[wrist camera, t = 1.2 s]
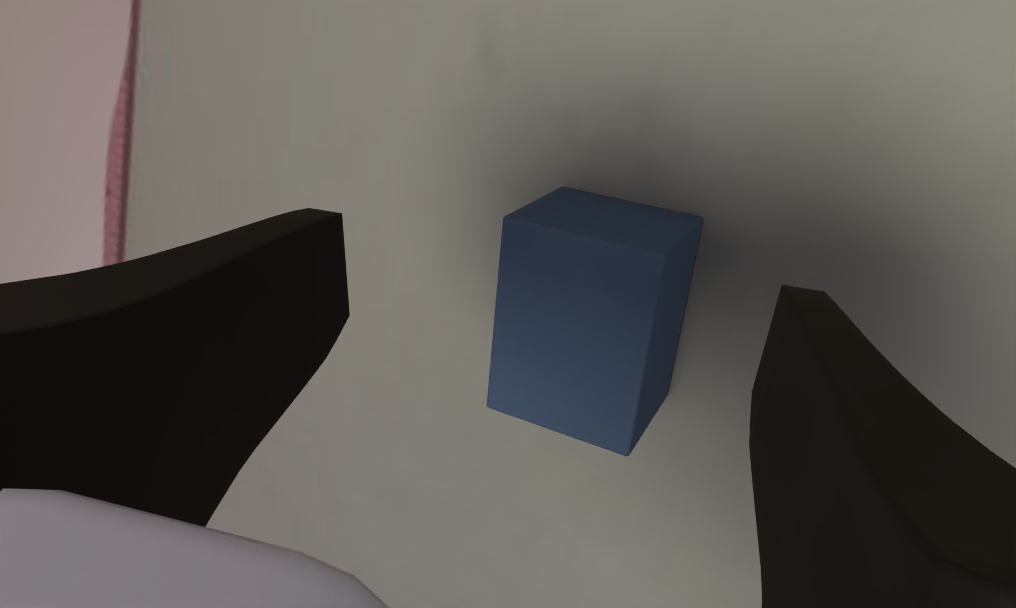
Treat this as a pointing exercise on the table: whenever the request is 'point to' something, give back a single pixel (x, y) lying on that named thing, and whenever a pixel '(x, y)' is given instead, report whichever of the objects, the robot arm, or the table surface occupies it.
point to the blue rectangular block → (590, 314)
